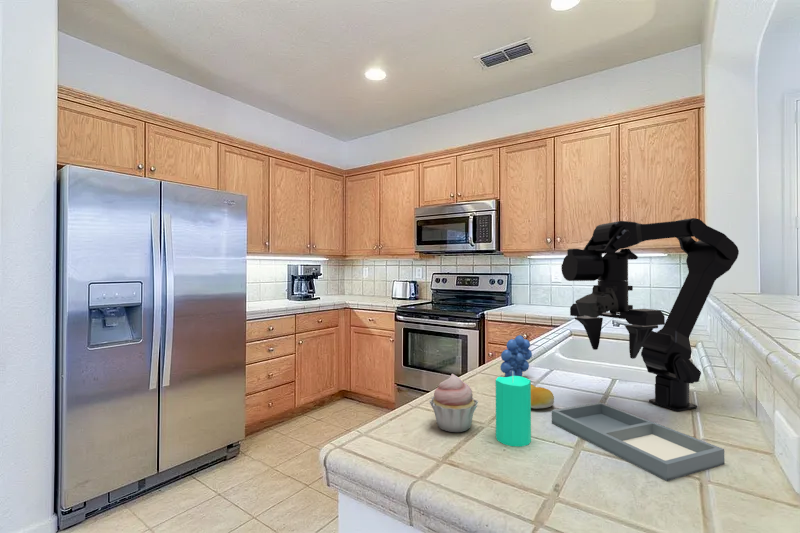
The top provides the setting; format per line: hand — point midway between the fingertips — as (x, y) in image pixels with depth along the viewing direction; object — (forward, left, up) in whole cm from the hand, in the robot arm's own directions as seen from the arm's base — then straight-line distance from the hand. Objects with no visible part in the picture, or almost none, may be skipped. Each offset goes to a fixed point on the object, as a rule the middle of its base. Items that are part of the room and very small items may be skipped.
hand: (613, 353), depth 82 cm
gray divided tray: (+11, +12, -12) cm, 20 cm away
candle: (+29, +4, -12) cm, 32 cm away
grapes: (+5, -27, -12) cm, 30 cm away
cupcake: (+36, -5, -12) cm, 38 cm away
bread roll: (+11, -7, -12) cm, 18 cm away
